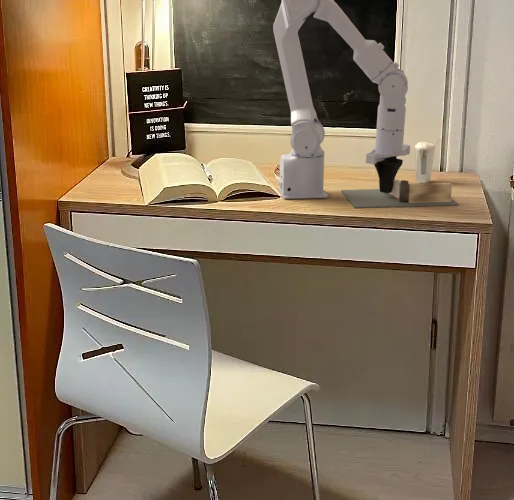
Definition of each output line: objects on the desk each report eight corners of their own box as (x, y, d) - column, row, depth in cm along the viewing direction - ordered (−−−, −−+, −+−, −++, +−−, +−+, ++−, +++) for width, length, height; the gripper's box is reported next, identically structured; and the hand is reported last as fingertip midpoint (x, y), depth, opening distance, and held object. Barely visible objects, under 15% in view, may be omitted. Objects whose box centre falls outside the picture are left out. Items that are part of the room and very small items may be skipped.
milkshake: (436, 184, 204) (439, 140, 201) (412, 183, 205) (415, 139, 202) (436, 179, 208) (439, 137, 205) (413, 178, 209) (415, 136, 206)
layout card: (354, 208, 185) (354, 206, 185) (340, 191, 198) (341, 189, 198) (458, 205, 187) (458, 203, 187) (438, 189, 200) (438, 187, 200)
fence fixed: (400, 202, 188) (401, 182, 186) (398, 200, 189) (399, 180, 188) (450, 201, 189) (452, 181, 188) (448, 199, 191) (450, 179, 189)
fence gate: (403, 198, 190) (404, 183, 189) (398, 198, 189) (399, 183, 188) (383, 188, 198) (384, 173, 197) (378, 188, 197) (379, 174, 196)
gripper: (388, 135, 180) (384, 201, 184) (424, 126, 191) (419, 189, 195) (358, 131, 184) (355, 195, 188) (395, 122, 195) (391, 183, 199)
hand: (385, 192), depth 192 cm, fingers closed, pressing on fence gate
